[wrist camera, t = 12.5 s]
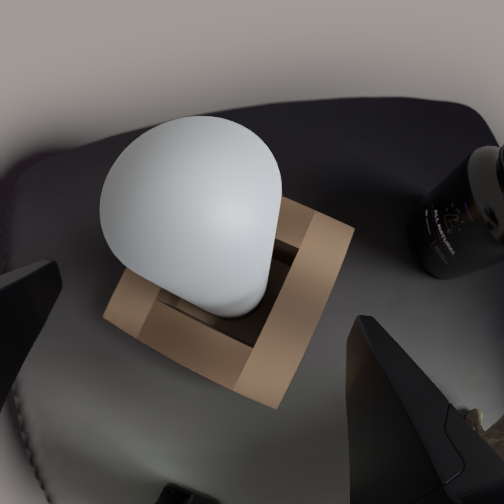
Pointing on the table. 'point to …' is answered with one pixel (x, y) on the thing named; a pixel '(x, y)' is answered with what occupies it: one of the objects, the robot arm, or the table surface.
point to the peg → (196, 212)
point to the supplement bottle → (462, 218)
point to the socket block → (253, 327)
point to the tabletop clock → (497, 436)
